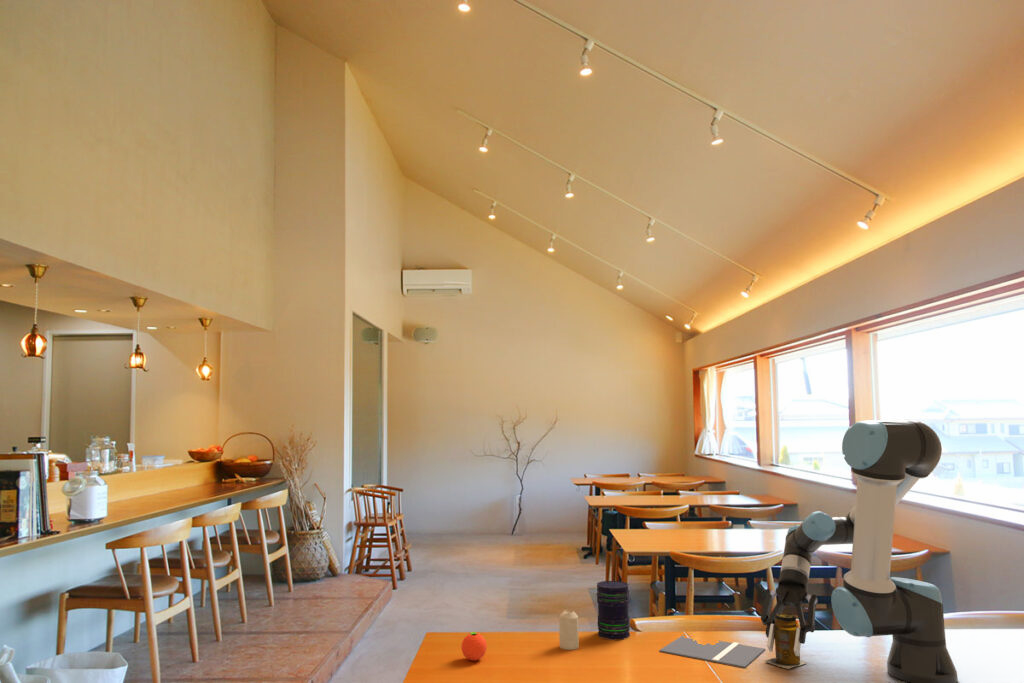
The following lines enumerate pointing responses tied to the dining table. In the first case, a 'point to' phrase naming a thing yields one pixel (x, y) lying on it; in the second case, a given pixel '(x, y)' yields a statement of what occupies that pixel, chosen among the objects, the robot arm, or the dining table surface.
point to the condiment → (785, 642)
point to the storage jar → (613, 610)
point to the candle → (568, 630)
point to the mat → (714, 651)
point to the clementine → (474, 646)
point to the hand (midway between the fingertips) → (782, 650)
